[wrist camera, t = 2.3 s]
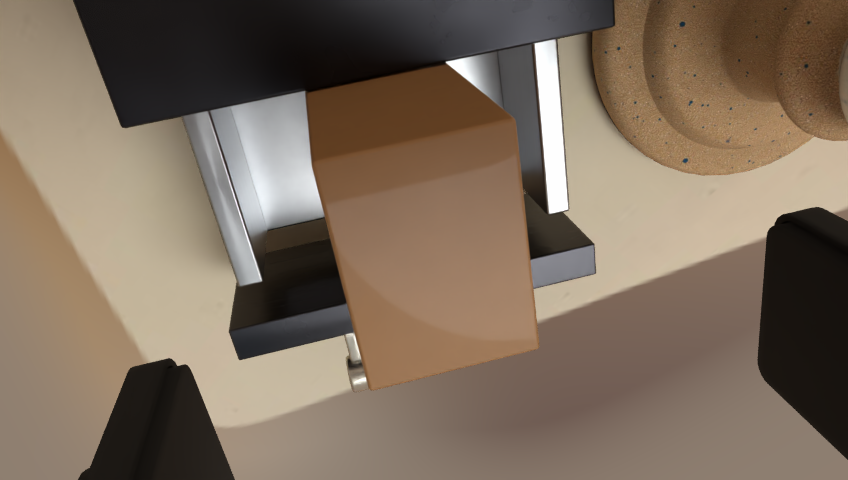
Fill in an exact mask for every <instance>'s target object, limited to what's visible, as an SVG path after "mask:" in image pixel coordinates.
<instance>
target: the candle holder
mask: <svg viewBox="0 0 848 480" xmlns="http://www.w3.org/2000/svg"><path fill="white" fill-rule="evenodd" d="M614 5H615V26H614V27H612V28H608V29H603V30H598V31H593V32H592V58H593V65H594V71H595V78H596V83H597V86H598V89H599V92H600V95H601V98H602V101H603V103H604V105H605V107H606V109H607V111H608V113H609V115H610V117H611V118H612V120H613V122H614V124H615V125H616V127H617V128H618V129H619V130H620V132H621V133H622V134H623V135H624V137H625V138H626V139H627V140H628V141H629V142H630V143H631V144H632V145H634V146H635V147H636V148H637V149H638V150H639V151H641V152H642V153H643V154H644V155H646V156H647V157H649V158H651V159H653V160H654V161H656V162H658V163H660V164H661V165H664V166H667V167H670V168H673V169H676V170H678V171H681V172H685V173H691V174H698V175H728V174H734V173H739V172H744V171H749V170H752V169H755V168H758V167H761V166H764V165H767V164H770V163H772V162H774V161H776V160H778V159H780V158H782V157H784V156H786V155H788V154H790V153H791V152H793V151H794V150H796V149H797V148H799V147H800V146H802V145H803V144H805V143H806V142H808V141H809V140H810V139H812V138H813V137H814V136H815V137H818V138H821V139H826V140H832V141H846V140H848V0H614Z"/></svg>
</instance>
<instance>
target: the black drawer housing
mask: <svg viewBox="0 0 848 480" xmlns="http://www.w3.org/2000/svg"><path fill="white" fill-rule="evenodd" d="M73 2H74V5H75V7H76V10H77V13H78V15H79V18H80V20H81V23H82V26H83V28H84V31H85V33H86V36H87V39H88V41H89V44H90V47H91V49H92V52H93V54H94V57H95V60H96V62H97V65H98V67H99V70H100V73H101V75H102V78H103V81H104V83H105V86H106V88H107V91H108V94H109V96H110V99H111V101H112V104H113V107H114V109H115V112H116V115H117V117H118V120H119V122H120V125H121V126H122V128H129V127H134V126H139V125H144V124H148V123H153V122H158V121H163V120H168V119H173V118H177V117H182V116H187V115H192V114H197V113H202V112H206V111H211V110H216V109H221V108H226V107H231V106H235V105H240V104H245V103H250V102H255V101H260V100H264V99H269V98H274V97H279V96H284V95H289V94H294V93H298V92H303V91H308V90H313V89H318V88H323V87H327V86H332V85H337V84H342V83H347V82H352V81H356V80H361V79H366V78H371V77H376V76H381V75H385V74H390V73H395V72H400V71H405V70H410V69H414V68H419V67H424V66H429V65H434V64H439V63H443V62H448V61H453V60H458V59H463V58H468V57H472V56H477V55H482V54H487V53H492V52H497V51H501V50H506V49H511V48H516V47H521V46H526V45H531V44H535V43H540V42H545V41H550V40H555V39H560V38H564V37H569V36H574V35H579V34H584V33H589V32H593V31H598V30H603V29H608V28H612V27H614V26H615V5H614V0H73Z"/></svg>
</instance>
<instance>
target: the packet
mask: <svg viewBox="0 0 848 480" xmlns="http://www.w3.org/2000/svg"><path fill="white" fill-rule="evenodd" d="M305 97H306V109H307V120H308V131H309V143H310V154H311V165H312V169H313V173H314V177H315V181H316V185H317V189H318V193H319V197H320V201H321V204H322V208H323V212H324V216H325V220H326V224H327V228H328V232H329V236H330V240H331V244H332V247H333V251H334V255H335V259H336V263H337V267H338V271H339V275H340V279H341V283H342V287H343V290H344V294H345V298H346V302H347V306H348V310H349V314H350V318H351V322H352V326H353V330H354V334H355V337H356V341H357V345H358V349H359V353H360V357H361V361H362V365H363V369H364V373H365V377H366V380H367V384H368V388H369V389H370V390H377V389H381V388H385V387H389V386H393V385H397V384H401V383H405V382H409V381H413V380H417V379H421V378H425V377H428V376H433V375H437V374H441V373H445V372H448V371H452V370H457V369H460V368H464V367H468V366H472V365H476V364H480V363H484V362H488V361H492V360H496V359H500V358H504V357H508V356H512V355H516V354H520V353H524V352H528V351H532V350H536V349H538V348H539V338H538V328H537V319H536V309H535V300H534V290H533V280H532V271H531V261H530V252H529V242H528V233H527V223H526V214H525V204H524V195H523V185H522V176H521V166H520V156H519V147H518V137H517V128H516V120H515V119H514V117H512V116H511V115H510V114H509V113H507V112H506V111H505V110H504V109H503V108H501V107H500V106H499V105H498V104H496V103H495V102H494V101H493V100H492V99H490V98H489V97H488V96H487V95H485V94H484V93H483V92H482V91H480V90H479V89H478V88H477V87H476V86H474V85H473V84H472V83H471V82H469V81H468V80H467V79H466V78H464V77H463V76H462V75H461V74H460V73H458V72H457V71H456V70H455V69H453V68H452V67H451V66H450V65H448V64H447V63H446V62H443V63H439V64H434V65H429V66H424V67H419V68H414V69H410V70H405V71H400V72H395V73H390V74H385V75H381V76H376V77H371V78H366V79H361V80H356V81H352V82H347V83H342V84H337V85H332V86H327V87H323V88H318V89H313V90H308V91H305Z"/></svg>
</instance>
